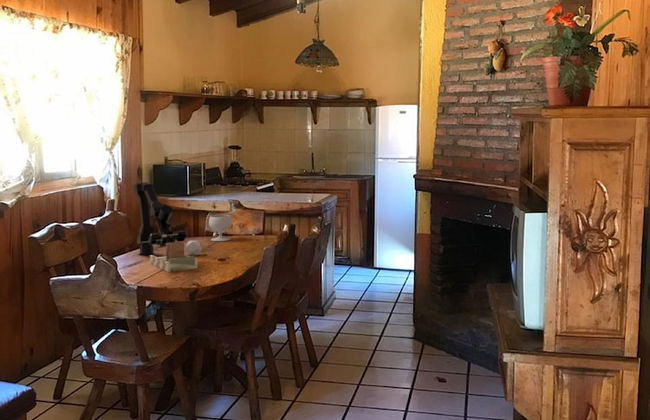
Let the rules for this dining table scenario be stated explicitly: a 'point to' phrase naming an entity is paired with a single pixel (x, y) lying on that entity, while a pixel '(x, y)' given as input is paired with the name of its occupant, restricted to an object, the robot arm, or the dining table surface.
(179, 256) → the walnut block
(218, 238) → the chalice
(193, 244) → the die
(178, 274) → the dining table surface
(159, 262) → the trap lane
